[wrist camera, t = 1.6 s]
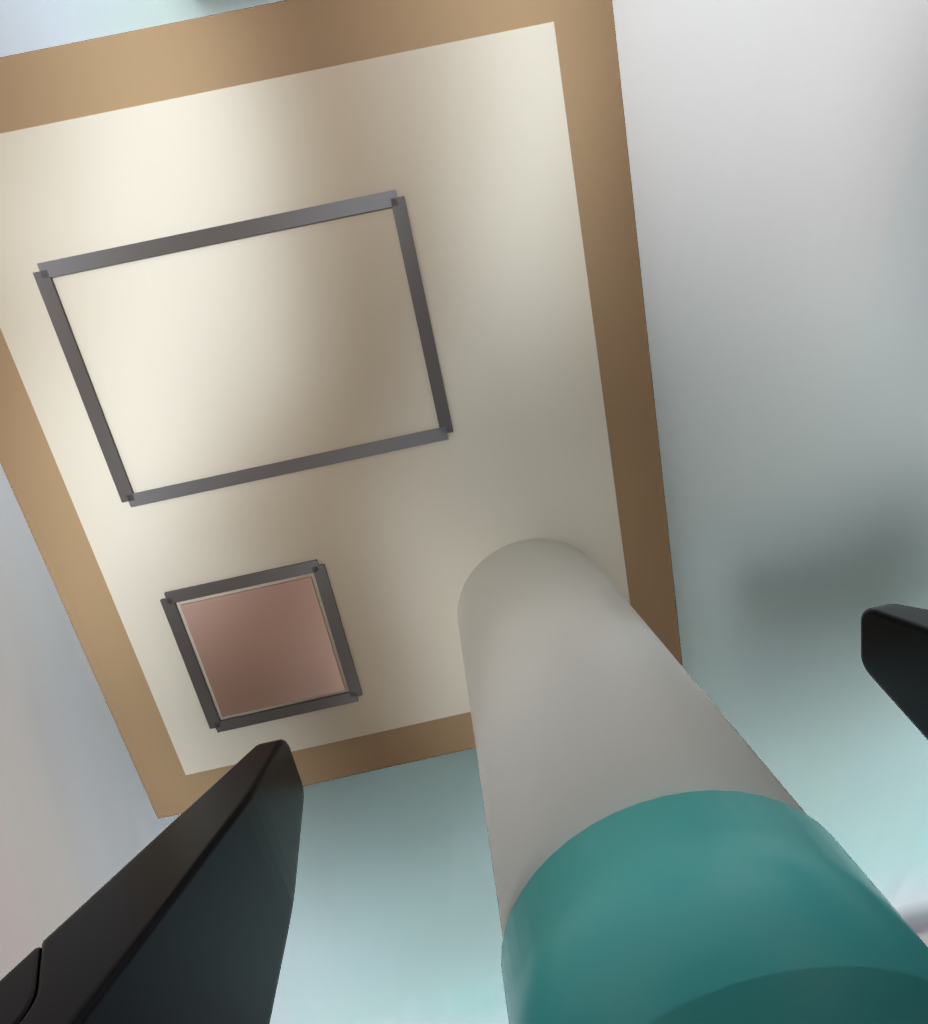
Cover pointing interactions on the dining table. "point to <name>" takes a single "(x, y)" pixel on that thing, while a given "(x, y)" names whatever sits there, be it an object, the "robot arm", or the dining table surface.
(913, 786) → the dining table surface
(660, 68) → the dining table surface
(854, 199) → the dining table surface
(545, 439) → the drawing board
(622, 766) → the marker
